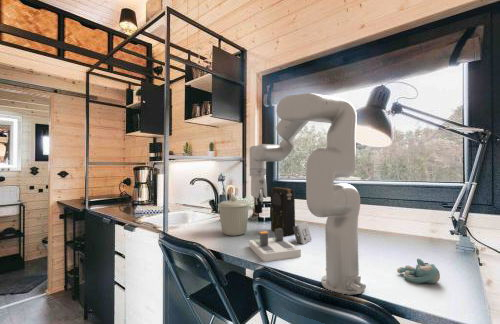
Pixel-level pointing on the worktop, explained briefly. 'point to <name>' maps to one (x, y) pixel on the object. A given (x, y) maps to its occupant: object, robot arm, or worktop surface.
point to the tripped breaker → (264, 238)
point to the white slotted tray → (275, 250)
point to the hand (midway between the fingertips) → (258, 212)
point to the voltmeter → (283, 210)
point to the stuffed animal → (421, 272)
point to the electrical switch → (302, 233)
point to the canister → (234, 216)
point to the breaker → (279, 234)
